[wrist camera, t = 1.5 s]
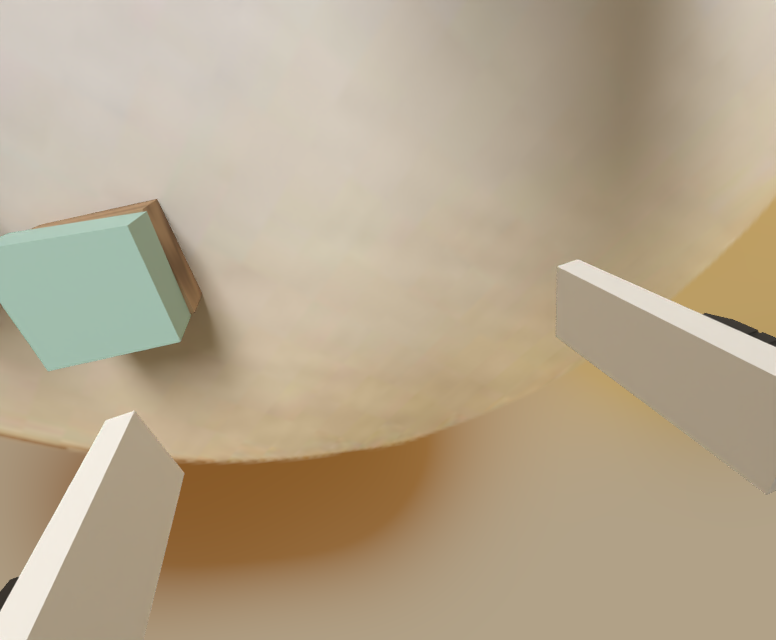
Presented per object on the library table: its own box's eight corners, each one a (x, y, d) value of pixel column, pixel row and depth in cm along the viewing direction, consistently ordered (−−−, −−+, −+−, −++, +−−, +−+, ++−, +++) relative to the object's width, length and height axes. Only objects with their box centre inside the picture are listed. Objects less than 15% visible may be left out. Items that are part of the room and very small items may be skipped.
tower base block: (42, 223, 27) (9, 239, 23) (157, 198, 28) (142, 208, 25) (103, 318, 31) (83, 342, 27) (202, 292, 32) (194, 312, 29)
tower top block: (8, 232, 23) (-36, 252, 20) (146, 211, 25) (127, 225, 21) (75, 339, 27) (48, 371, 24) (191, 315, 29) (180, 341, 25)
